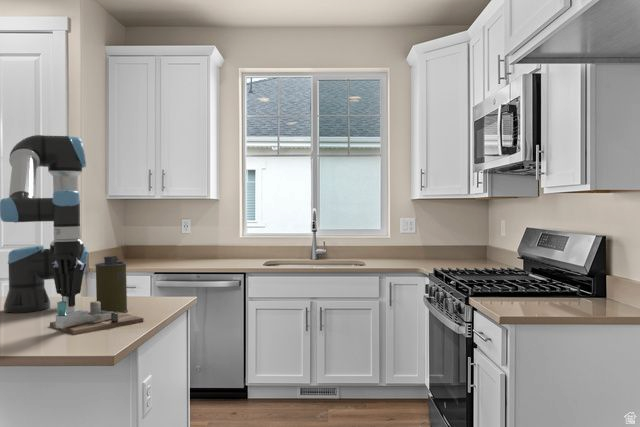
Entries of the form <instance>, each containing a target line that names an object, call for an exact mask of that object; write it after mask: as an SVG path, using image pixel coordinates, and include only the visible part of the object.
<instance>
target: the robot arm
mask: <svg viewBox="0 0 640 427" xmlns="http://www.w3.org/2000/svg"><path fill="white" fill-rule="evenodd" d="M85 153H86V152H85V149H84V144H83V140H82V139H81V138H80V137H79V136H70V135H41V134H37V135H36V134H35V135H31V136H28V137H26V138H23V139H22V140H20V141H19V142H17V143H16V144H15V145H14V146H13V147H12V149H11V151H10V153H9V158H8V160H9V164H10V166H11V171H10V172H11V173H10V182H9V193H8V197H6V198H5V197H4V198H1V199H0V219H1V221H2V222H3V223H15V224H16V223H30V222H31V223H33V222H34V223H35V222H37V223H38V222H53V240H52V241H51V242H50V244H49V248H45V247H44V245H42V244H41V245H31V246H24V247H19V248H15V249H12V250H10V251H9V253H8V257H7V258H8V260H7V265H8V292H7V295H6V298H5V301H4V304H3V312H4V311H5V312H4V313H8V312H12V314H15V313H17V314H19V313H30V312H31V313H32V312H38V311H39V312H40V311H44V310H47V309H50V308H51V300H50V298H49V295H48V293H47V290H46V287H45V280H46V281H47V280H48V281H49V280H53V281H54V285H55V291H56V294H57V295H58V294H59V295H60V296H61V297H62V298H61V300H62V301H66V313H71V312H75V306H76V296H77V295H79V294H81V290H82V285H83V278H84V275H85V273H86V269H87V264H88V253H89V252H88V251H89V250H88V246H84V245H85V244H84V241H82V239H81V238H82V235H81V234H82V232H81V199H80V197H81V196H80V193H79V176H80V175H81V174H82V173H83V169H84V168H86V167H87V161H86V154H85ZM39 167H45V168H48V171H47V172H48V173H49V174H50V175H51V176H52V183H53V184H52V186H53V187H52V191H53V193H52V197H36V192H37V189H36V188H37V186H36V185H37V169H38V168H39ZM62 301H61V302H62Z"/></svg>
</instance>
